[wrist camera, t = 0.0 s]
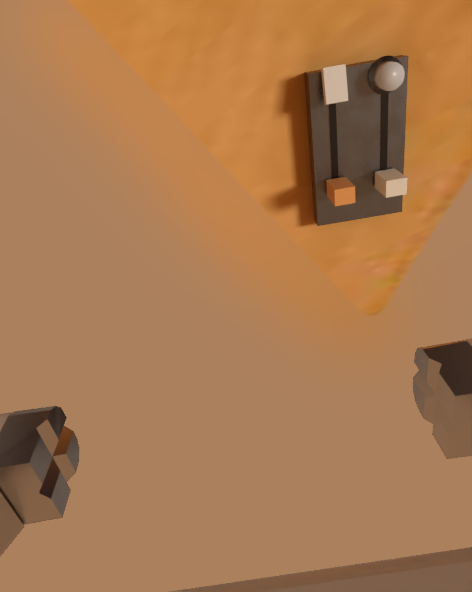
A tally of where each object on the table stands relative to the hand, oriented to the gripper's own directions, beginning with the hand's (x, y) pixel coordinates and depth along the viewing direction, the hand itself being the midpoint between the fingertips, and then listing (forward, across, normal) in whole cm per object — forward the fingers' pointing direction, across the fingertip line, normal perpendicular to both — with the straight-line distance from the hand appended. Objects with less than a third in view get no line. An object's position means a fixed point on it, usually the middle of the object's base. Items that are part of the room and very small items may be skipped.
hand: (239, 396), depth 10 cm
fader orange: (+46, -14, +11) cm, 49 cm away
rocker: (+45, -14, 0) cm, 47 cm away
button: (+46, -19, 0) cm, 50 cm away
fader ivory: (+46, -19, +11) cm, 51 cm away
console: (+48, -16, +7) cm, 51 cm away
